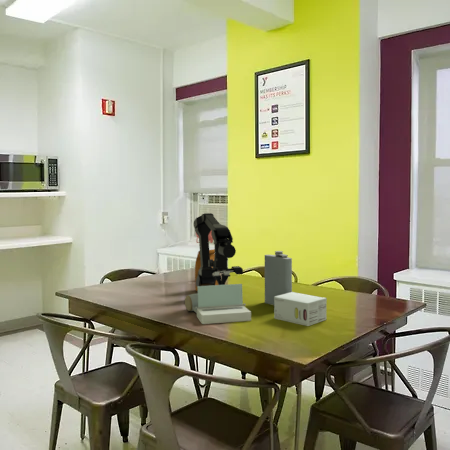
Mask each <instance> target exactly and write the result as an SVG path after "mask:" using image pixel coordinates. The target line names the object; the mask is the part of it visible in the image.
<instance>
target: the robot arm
mask: <svg viewBox="0 0 450 450" xmlns="http://www.w3.org/2000/svg"><path fill="white" fill-rule="evenodd" d="M193 228H194V232H195V234H196V233H197V235H198V236H199V238H198V242H199V243H198V244H199V251H200V261H201V267H200V269H199V271H198V276H197V279H196V282H195V283H196V286H197V287H198V286H211V285H215V282H216V280H217V282H218V285H226V282H227V280H228V279H229V278H230V277H231V273H232V274H233V273H234V274H235V275H243V274H244V269H243V268H242V267H241V266H239V265H237V266H236V265H234V266H231V267H230V268H228V263H229V262H228V261H229V259H231V258H233V257H234V256H235V255H236V253H237V252H236V251H237V249H236V248H235V246H234V245H232V243H234V241H233V240H234V238H233V235H232V233H231V230H230V228H229V227H228V226H226V225H224V224H221V223H220V222H219V221H218V220H217V218H215V215H214V213H211V212H206V213H205V212H204V213H202V214H201V215H199V216H197V217H196V218H195V219H194V220H193ZM210 231H212V232H211V235H212V238H213V245H214V248H213V249H215V253H214V254H215V257H214V261H213V259H210V252H209V250H210V241H209V239H208V235H209V233H210ZM212 267H213V268H212Z"/></svg>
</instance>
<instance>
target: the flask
mask: <svg viewBox="0 0 450 450" xmlns="http://www.w3.org/2000/svg"><path fill="white" fill-rule="evenodd" d="M292 279H293V258H291V257H288V254H285V253H284V251H282V250H276V251H274V254H264V304H268V305H272V306H274V297H275V296H278V295H282V294H286V293H290V292H293V280H292Z"/></svg>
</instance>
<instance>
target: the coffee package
mask: <svg viewBox="0 0 450 450" xmlns="http://www.w3.org/2000/svg"><path fill="white" fill-rule="evenodd" d="M209 252H210V259H213V261H214V257H215V248H213V249H209ZM195 258H196V259H195V264H194V281H195V282H196V279H197V276H198V271H199V269H200V267H201V261H200V250H198V252H197V256H196V257H195ZM212 268H213V267H212ZM194 285H195V286H194V287H195V288H194V289H195V291H196V292H198V287H197V286H196V283H195V284H194ZM215 285H218V282H217V280H216V282H215Z"/></svg>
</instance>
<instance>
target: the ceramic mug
mask: <svg viewBox="0 0 450 450" xmlns="http://www.w3.org/2000/svg"><path fill="white" fill-rule="evenodd" d="M184 298H185V299H184V305H185V306H184V307H185V308H186V310H187V311H188V312H195V313H196V314H197V309H195V307H197V308H198V292H196V293H191V294H188V295H186V296H185V297H184Z"/></svg>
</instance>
